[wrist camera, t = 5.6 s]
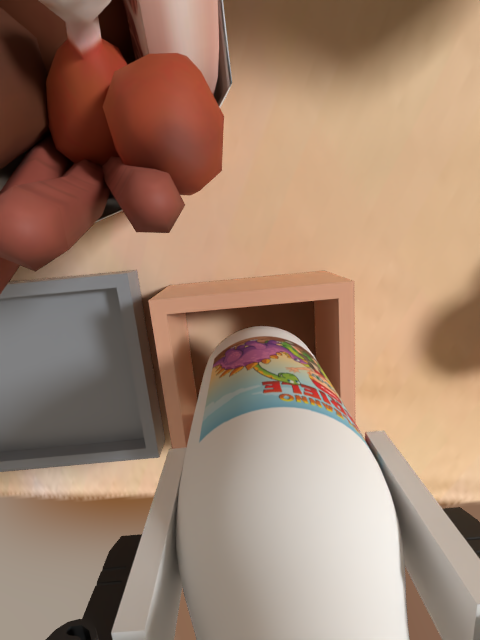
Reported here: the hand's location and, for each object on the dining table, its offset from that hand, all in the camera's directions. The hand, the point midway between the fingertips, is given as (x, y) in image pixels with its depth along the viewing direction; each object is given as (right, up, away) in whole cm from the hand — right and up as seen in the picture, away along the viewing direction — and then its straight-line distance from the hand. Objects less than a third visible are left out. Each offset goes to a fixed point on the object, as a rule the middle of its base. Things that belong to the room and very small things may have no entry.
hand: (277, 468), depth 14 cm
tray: (-18, +2, +15) cm, 24 cm away
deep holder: (0, +3, +15) cm, 16 cm away
